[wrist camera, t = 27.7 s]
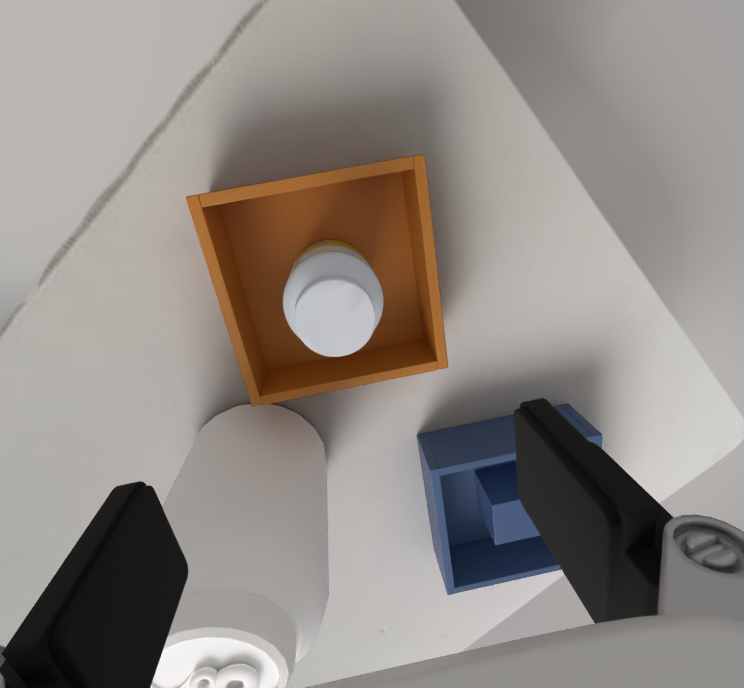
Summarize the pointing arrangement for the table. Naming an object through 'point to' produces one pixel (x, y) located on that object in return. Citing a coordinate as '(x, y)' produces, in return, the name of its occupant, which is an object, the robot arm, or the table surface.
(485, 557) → the blue bin
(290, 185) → the amber bin
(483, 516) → the blue block
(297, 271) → the pill bottle
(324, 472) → the can
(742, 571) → the robot arm
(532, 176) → the table surface
